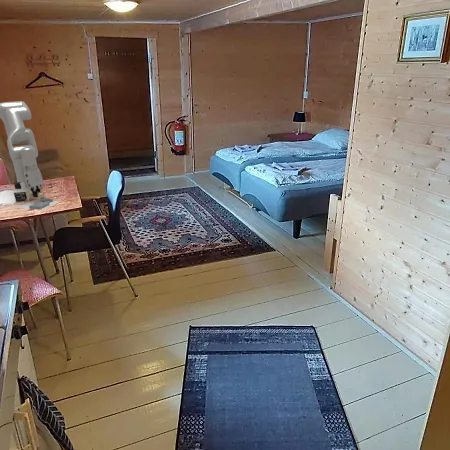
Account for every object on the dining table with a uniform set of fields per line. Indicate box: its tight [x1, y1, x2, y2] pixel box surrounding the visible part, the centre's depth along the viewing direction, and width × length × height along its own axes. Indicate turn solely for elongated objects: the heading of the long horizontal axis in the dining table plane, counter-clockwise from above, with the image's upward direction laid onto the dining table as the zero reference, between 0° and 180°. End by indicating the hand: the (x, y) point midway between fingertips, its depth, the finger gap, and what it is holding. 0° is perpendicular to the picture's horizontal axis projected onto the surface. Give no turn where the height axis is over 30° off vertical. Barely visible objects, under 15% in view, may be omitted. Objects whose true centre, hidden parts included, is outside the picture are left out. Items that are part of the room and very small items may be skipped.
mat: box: [16, 199, 61, 210], centre depth 252 cm, size 20×16×1 cm
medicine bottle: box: [13, 182, 31, 203], centre depth 261 cm, size 7×7×12 cm
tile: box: [28, 202, 49, 210], centre depth 247 cm, size 2×8×8 cm
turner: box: [28, 189, 54, 203], centre depth 256 cm, size 16×5×4 cm, turn 73°
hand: (37, 196), depth 256 cm, fingers closed on turner, 2 cm apart
